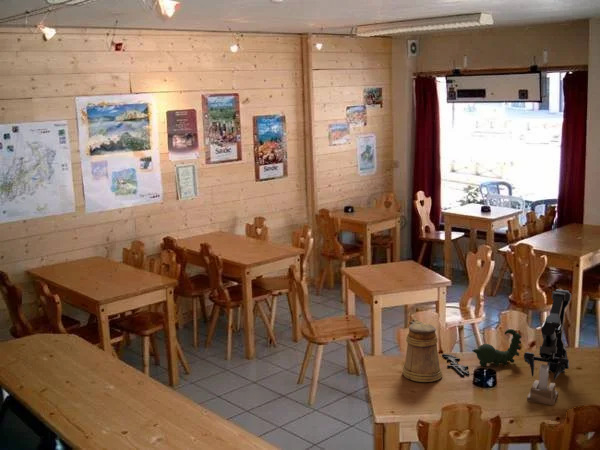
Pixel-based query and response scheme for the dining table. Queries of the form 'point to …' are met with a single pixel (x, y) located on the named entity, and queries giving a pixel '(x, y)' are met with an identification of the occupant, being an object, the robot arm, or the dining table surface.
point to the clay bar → (543, 377)
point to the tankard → (422, 353)
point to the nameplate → (456, 365)
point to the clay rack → (542, 394)
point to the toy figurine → (498, 352)
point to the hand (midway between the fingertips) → (543, 378)
